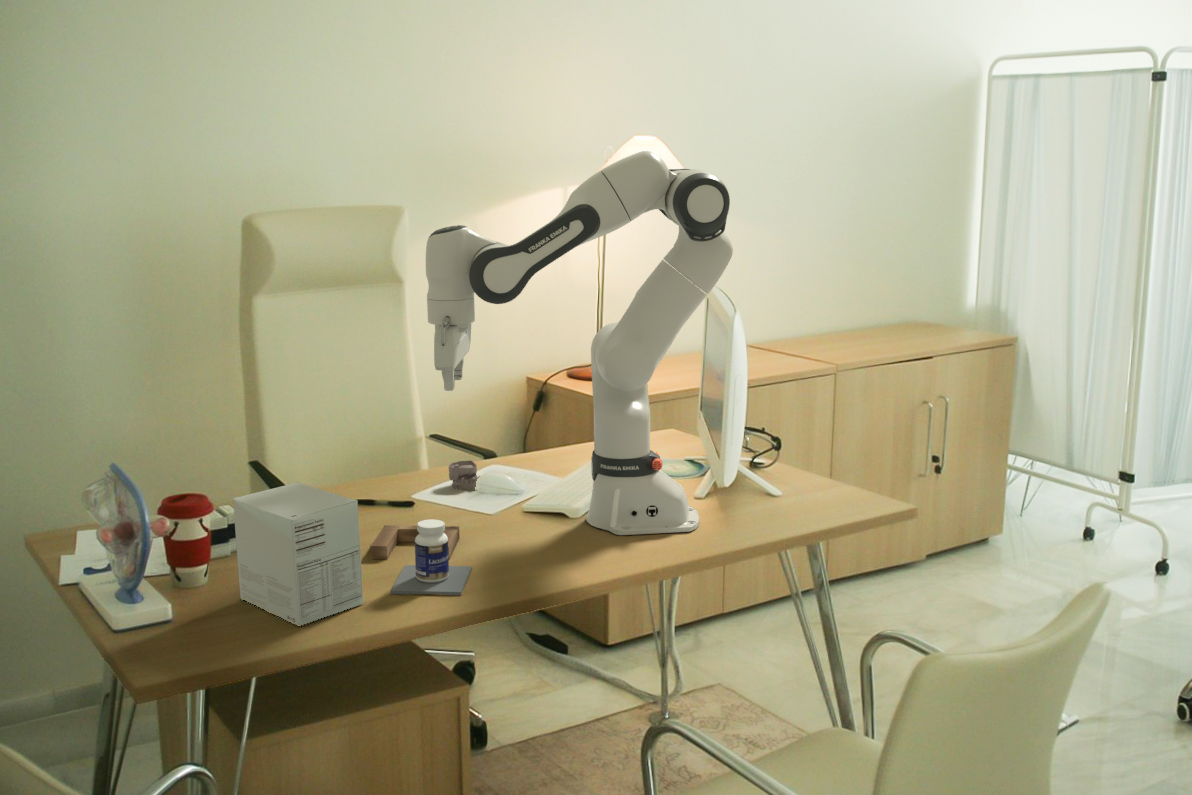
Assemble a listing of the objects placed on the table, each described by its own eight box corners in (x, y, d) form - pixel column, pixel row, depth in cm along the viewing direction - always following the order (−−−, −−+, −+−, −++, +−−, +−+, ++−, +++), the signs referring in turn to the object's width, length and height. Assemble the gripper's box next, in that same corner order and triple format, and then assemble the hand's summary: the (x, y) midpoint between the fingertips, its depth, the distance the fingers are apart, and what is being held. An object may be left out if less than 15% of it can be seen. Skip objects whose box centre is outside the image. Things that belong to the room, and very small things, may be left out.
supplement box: (366, 604, 196) (361, 499, 192) (298, 629, 186) (291, 519, 182) (305, 578, 207) (299, 479, 203) (237, 601, 198) (230, 497, 194)
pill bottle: (432, 586, 202) (430, 530, 200) (409, 579, 205) (406, 524, 203) (456, 576, 206) (454, 521, 204) (432, 569, 210) (430, 515, 207)
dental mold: (447, 481, 264) (447, 460, 263) (478, 479, 265) (478, 458, 264) (450, 492, 256) (449, 470, 255) (482, 490, 258) (481, 468, 256)
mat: (471, 569, 211) (471, 566, 211) (461, 595, 200) (460, 591, 199) (405, 568, 212) (405, 565, 212) (390, 594, 200) (390, 590, 200)
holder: (459, 538, 227) (459, 526, 226) (449, 559, 216) (448, 546, 215) (385, 537, 228) (384, 525, 227) (371, 558, 217) (370, 545, 216)
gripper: (459, 321, 213) (461, 396, 216) (475, 305, 233) (477, 373, 236) (424, 321, 213) (427, 396, 216) (443, 305, 233) (446, 373, 236)
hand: (453, 384), depth 226 cm, fingers open, 8 cm apart
